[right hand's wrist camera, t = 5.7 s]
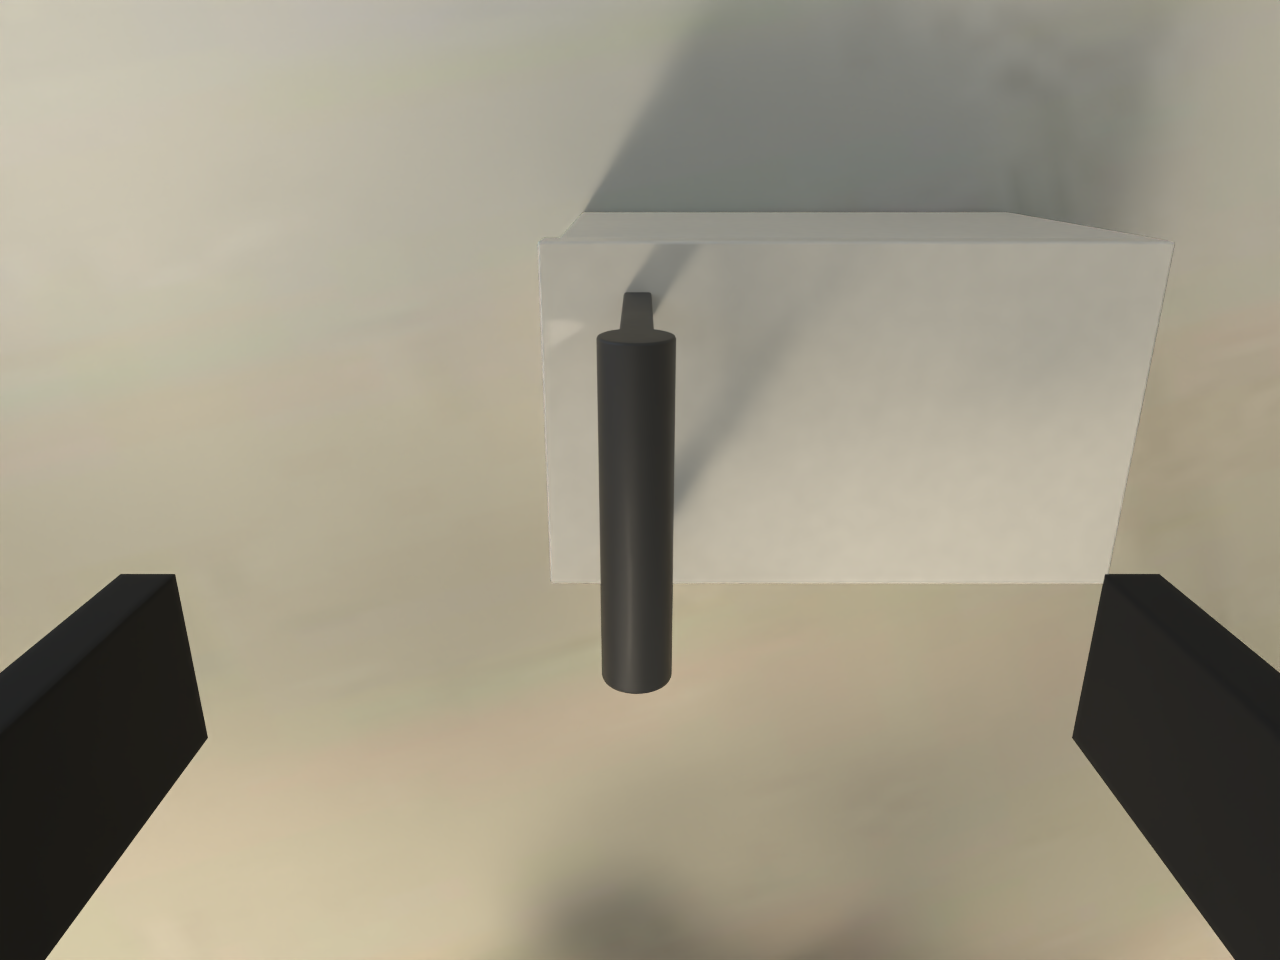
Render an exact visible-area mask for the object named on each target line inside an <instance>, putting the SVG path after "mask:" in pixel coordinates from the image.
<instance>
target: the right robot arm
mask: <svg viewBox="0 0 1280 960" xmlns="http://www.w3.org/2000/svg"><path fill="white" fill-rule="evenodd" d="M207 738H208V736H207V731H206V726H205V721H204V716H203V711H202V706H201V701H200V696H199V691H198V686H197V681H196V676H195V671H194V666H193V661H192V656H191V651H190V646H189V641H188V636H187V631H186V626H185V621H184V616H183V611H182V606H181V601H180V596H179V591H178V586H177V581H176V576H175V574H120V575H119V576H118V577H117V578H116V579H114V580H113V581H112V582H111V583H109V584H108V585H107V586H106V587H105V588H103V589H102V590H101V591H100V592H98V593H97V594H96V595H95V596H94V597H92V598H91V599H90V600H89V601H87V602H86V603H85V604H84V605H83V606H81V607H80V608H79V609H78V610H77V611H75V612H74V613H73V614H72V615H70V616H69V617H68V618H67V619H66V620H64V621H63V622H62V623H61V624H59V625H58V626H57V627H56V628H55V629H53V630H52V631H51V632H50V633H48V634H47V635H46V636H45V637H44V638H42V639H41V640H40V641H39V642H37V643H36V644H35V645H34V646H33V647H31V648H30V649H29V650H28V651H27V652H25V653H24V654H23V655H22V656H20V657H19V658H18V659H17V660H16V661H14V662H13V663H12V664H11V665H9V666H8V667H7V668H6V669H5V670H3V671H2V672H1V673H0V960H45V959H46V958H47V956H48V955H49V954H50V952H51V951H52V950H53V948H54V947H55V946H56V944H57V943H58V941H59V940H60V939H61V937H62V936H63V935H64V933H65V932H66V931H67V929H68V928H69V926H70V925H71V924H72V922H73V921H74V920H75V918H76V917H77V916H78V914H79V913H80V911H81V910H82V909H83V907H84V906H85V905H86V903H87V902H88V901H89V899H90V898H91V896H92V895H93V894H94V892H95V891H96V890H97V888H98V887H99V886H100V884H101V883H102V881H103V880H104V879H105V877H106V876H107V875H108V873H109V872H110V871H111V869H112V868H113V866H114V865H115V864H116V862H117V861H118V860H119V858H120V857H121V856H122V854H123V853H124V851H125V850H126V849H127V847H128V846H129V845H130V843H131V842H132V841H133V839H134V838H135V836H136V835H137V834H138V832H139V831H140V830H141V828H142V827H143V826H144V824H145V823H146V821H147V820H148V819H149V817H150V816H151V815H152V813H153V812H154V811H155V809H156V808H157V806H158V805H159V804H160V802H161V801H162V800H163V798H164V797H165V796H166V794H167V793H168V791H169V790H170V789H171V787H172V786H173V785H174V783H175V782H176V780H177V779H178V778H179V776H180V775H181V774H182V772H183V771H184V770H185V768H186V767H187V765H188V764H189V763H190V761H191V760H192V759H193V757H194V756H195V755H196V753H197V752H198V750H199V749H200V748H201V746H202V745H203V744H204V742H205V741H206V740H207ZM1072 738H1073V740H1074V741H1075V742H1076V744H1077V745H1078V746H1079V748H1080V749H1081V750H1082V752H1083V753H1084V755H1085V756H1086V757H1087V759H1088V760H1089V761H1090V763H1091V764H1092V765H1093V767H1094V768H1095V770H1096V771H1097V772H1098V774H1099V775H1100V776H1101V778H1102V779H1103V781H1104V782H1105V783H1106V785H1107V786H1108V787H1109V789H1110V790H1111V791H1112V793H1113V794H1114V796H1115V797H1116V798H1117V800H1118V801H1119V802H1120V804H1121V805H1122V806H1123V808H1124V809H1125V811H1126V812H1127V813H1128V815H1129V816H1130V817H1131V819H1132V820H1133V821H1134V823H1135V824H1136V826H1137V827H1138V828H1139V830H1140V831H1141V832H1142V834H1143V835H1144V836H1145V838H1146V839H1147V841H1148V842H1149V843H1150V845H1151V846H1152V847H1153V849H1154V850H1155V851H1156V853H1157V854H1158V856H1159V857H1160V858H1161V860H1162V861H1163V862H1164V864H1165V865H1166V866H1167V868H1168V869H1169V871H1170V872H1171V873H1172V875H1173V876H1174V877H1175V879H1176V880H1177V881H1178V883H1179V884H1180V886H1181V887H1182V888H1183V890H1184V891H1185V892H1186V894H1187V895H1188V896H1189V898H1190V899H1191V901H1192V902H1193V903H1194V905H1195V906H1196V907H1197V909H1198V910H1199V911H1200V913H1201V914H1202V916H1203V917H1204V918H1205V920H1206V921H1207V922H1208V924H1209V925H1210V926H1211V928H1212V929H1213V931H1214V932H1215V933H1216V935H1217V936H1218V937H1219V939H1220V940H1221V941H1222V943H1223V944H1224V946H1225V947H1226V948H1227V950H1228V951H1229V952H1230V954H1231V955H1232V956H1233V958H1234V959H1235V960H1280V673H1279V672H1278V671H1277V670H1275V669H1274V668H1273V667H1272V666H1271V665H1269V664H1268V663H1267V662H1266V661H1264V660H1263V659H1262V658H1261V657H1260V656H1258V655H1257V654H1256V653H1255V652H1253V651H1252V650H1251V649H1250V648H1249V647H1247V646H1246V645H1245V644H1244V643H1243V642H1241V641H1240V640H1239V639H1238V638H1236V637H1235V636H1234V635H1233V634H1232V633H1230V632H1229V631H1228V630H1227V629H1225V628H1224V627H1223V626H1222V625H1221V624H1219V623H1218V622H1217V621H1216V620H1214V619H1213V618H1212V617H1211V616H1210V615H1208V614H1207V613H1206V612H1205V611H1203V610H1202V609H1201V608H1200V607H1199V606H1197V605H1196V604H1195V603H1194V602H1193V601H1191V600H1190V599H1189V598H1188V597H1186V596H1185V595H1184V594H1183V593H1182V592H1180V591H1179V590H1178V589H1177V588H1175V587H1174V586H1173V585H1172V584H1171V583H1169V582H1168V581H1167V580H1166V579H1164V578H1163V577H1162V576H1161V575H1160V574H1105V576H1104V581H1103V586H1102V591H1101V596H1100V601H1099V606H1098V611H1097V616H1096V621H1095V626H1094V631H1093V636H1092V641H1091V646H1090V651H1089V656H1088V661H1087V666H1086V671H1085V676H1084V681H1083V686H1082V691H1081V696H1080V701H1079V706H1078V711H1077V716H1076V721H1075V726H1074V731H1073V736H1072Z"/></svg>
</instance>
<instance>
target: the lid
mask: <svg viewBox="0 0 1280 960" xmlns="http://www.w3.org/2000/svg"><path fill="white" fill-rule="evenodd" d="M537 245H538V271H539V297H540V323H541V349H542V375H543V400H544V426H545V452H546V478H547V504H548V530H549V556H550V581H551V583H553V584H601V638H602V676H603V679H604V681H605V682H606V683H607V684H608V685H609V686H610V687H612V688H613V689H615V690H618V691H621V692H625V693H632V694H642V693H649V692H653V691H656V690H658V689H660V688H662V687H663V686H665V685H666V684H667V683H668V682H669V680H670V678H671V672H672V601H673V584H1103V581H1104V576H1105V574H1108V573H1109V568H1110V564H1111V559H1112V554H1113V549H1114V544H1115V539H1116V534H1117V529H1118V524H1119V519H1120V514H1121V509H1122V504H1123V499H1124V494H1125V489H1126V484H1127V479H1128V474H1129V469H1130V464H1131V459H1132V454H1133V449H1134V444H1135V439H1136V435H1137V430H1138V425H1139V420H1140V415H1141V410H1142V405H1143V400H1144V395H1145V390H1146V385H1147V380H1148V375H1149V370H1150V365H1151V360H1152V355H1153V350H1154V345H1155V340H1156V335H1157V330H1158V325H1159V320H1160V315H1161V310H1162V306H1163V301H1164V296H1165V291H1166V286H1167V281H1168V276H1169V271H1170V266H1171V261H1172V256H1173V251H1174V246H1175V243H1174V242H1173V241H1169V240H1163V239H1157V238H1152V237H544V238H542V239H541V240H540V241H539V242H538V244H537Z"/></svg>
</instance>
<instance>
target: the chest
mask: <svg viewBox="0 0 1280 960" xmlns="http://www.w3.org/2000/svg"><path fill="white" fill-rule="evenodd" d="M561 237H1147V236H1141V235H1135V234H1130V233H1124V232H1118V231H1112V230H1107V229H1101V228H1095V227H1090V226H1084V225H1078V224H1072V223H1067V222H1061V221H1055V220H1049V219H1044V218H1038V217H1032V216H1026V215H1021V214H1014V213H1009V212H583V213H582V214H581V215H580V216H579V217H578V218H577V219H576V220H575V222H574V223H573V224H572V225H571V226H570V227H569V228H568V229H567V230H566V231H565V232H564V234H563V235H562V236H561Z"/></svg>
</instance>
